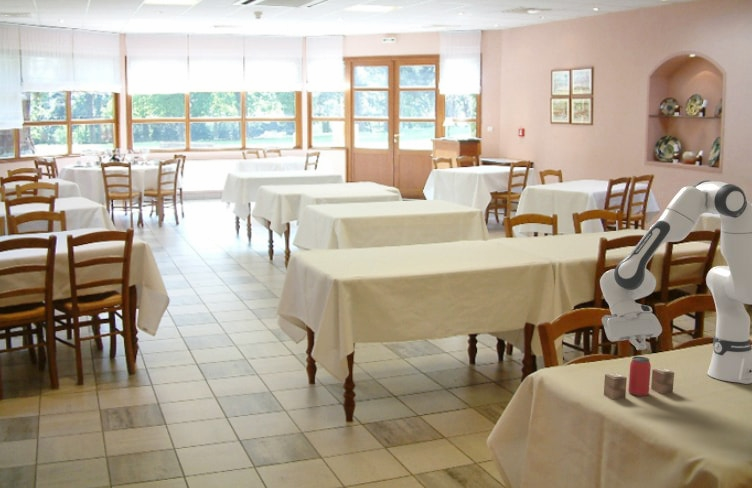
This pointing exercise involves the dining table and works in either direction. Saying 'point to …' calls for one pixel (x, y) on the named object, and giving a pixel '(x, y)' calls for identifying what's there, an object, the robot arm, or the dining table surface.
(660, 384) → the walnut block
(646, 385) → the beer can
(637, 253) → the robot arm
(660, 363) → the dining table surface
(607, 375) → the walnut block
